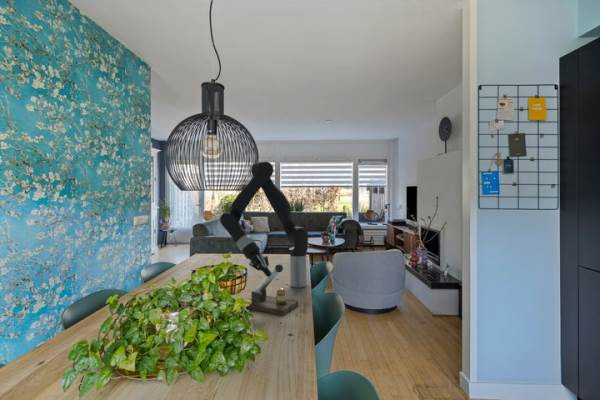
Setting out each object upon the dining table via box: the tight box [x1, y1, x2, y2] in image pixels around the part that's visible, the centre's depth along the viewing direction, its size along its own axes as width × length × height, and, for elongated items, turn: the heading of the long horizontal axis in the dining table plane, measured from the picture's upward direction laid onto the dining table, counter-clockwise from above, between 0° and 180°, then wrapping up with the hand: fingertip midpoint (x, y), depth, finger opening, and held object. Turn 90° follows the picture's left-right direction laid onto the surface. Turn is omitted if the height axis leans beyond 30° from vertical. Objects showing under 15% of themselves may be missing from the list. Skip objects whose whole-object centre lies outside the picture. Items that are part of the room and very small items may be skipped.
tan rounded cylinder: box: [275, 287, 287, 305], centre depth 140 cm, size 4×4×7 cm
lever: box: [254, 263, 284, 295], centre depth 143 cm, size 4×4×20 cm
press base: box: [246, 288, 299, 316], centre depth 142 cm, size 14×22×6 cm, turn 63°
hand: (269, 275), depth 142 cm, fingers closed
